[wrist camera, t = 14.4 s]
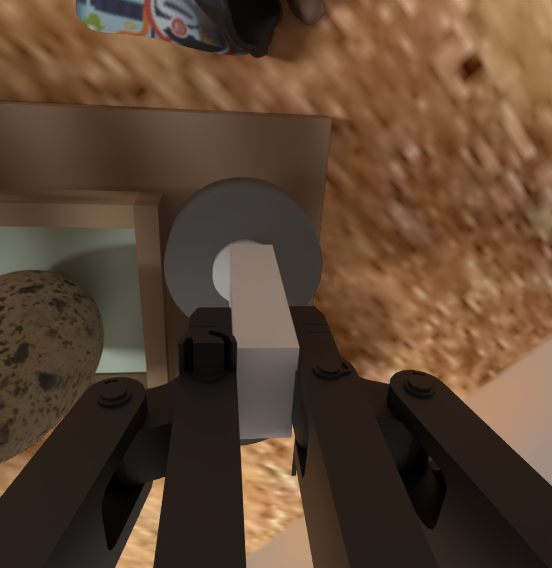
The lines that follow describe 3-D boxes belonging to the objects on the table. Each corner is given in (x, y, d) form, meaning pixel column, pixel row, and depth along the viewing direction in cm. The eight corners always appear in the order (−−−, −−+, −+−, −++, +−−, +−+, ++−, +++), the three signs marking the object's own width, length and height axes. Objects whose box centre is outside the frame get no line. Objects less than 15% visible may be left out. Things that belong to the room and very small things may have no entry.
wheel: (172, 310, 20) (166, 345, 18) (166, 174, 18) (157, 193, 15) (305, 309, 21) (317, 343, 19) (318, 179, 19) (333, 198, 16)
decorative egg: (99, 366, 25) (30, 542, 16) (-22, 332, 23) (-175, 506, 14) (133, 272, 22) (77, 413, 14) (3, 226, 21) (-159, 353, 12)
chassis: (-54, 384, 26) (-126, 470, 20) (-146, 93, 19) (-288, 107, 14) (300, 376, 28) (320, 451, 23) (326, 115, 22) (361, 135, 16)
